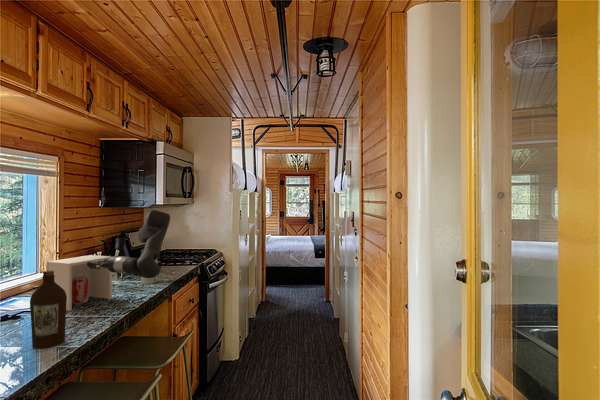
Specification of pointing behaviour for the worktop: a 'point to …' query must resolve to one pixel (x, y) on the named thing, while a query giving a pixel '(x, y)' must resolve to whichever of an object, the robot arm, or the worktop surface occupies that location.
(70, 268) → the cubby
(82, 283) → the soda can
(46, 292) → the olive oil
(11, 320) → the worktop surface
